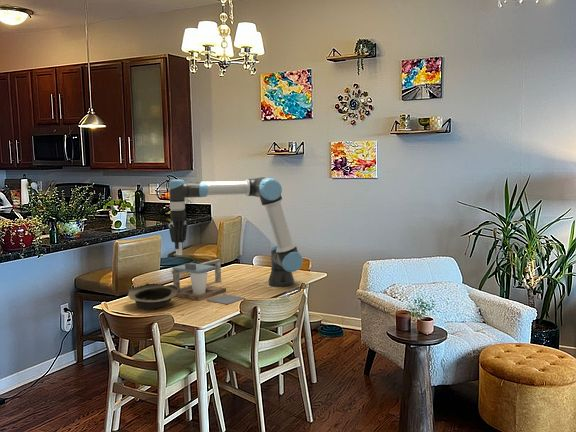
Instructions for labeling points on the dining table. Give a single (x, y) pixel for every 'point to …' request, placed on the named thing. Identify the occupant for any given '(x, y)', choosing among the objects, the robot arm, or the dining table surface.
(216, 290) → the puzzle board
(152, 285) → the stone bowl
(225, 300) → the rubber mat
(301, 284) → the dining table surface
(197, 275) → the foam cup
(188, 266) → the cover
